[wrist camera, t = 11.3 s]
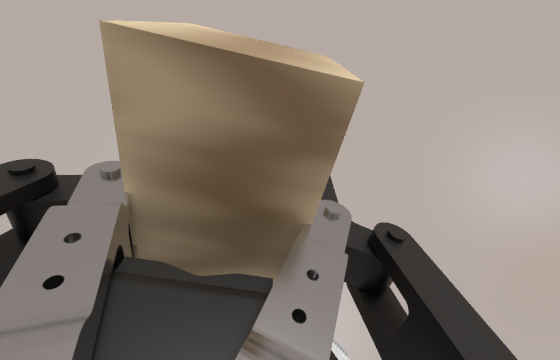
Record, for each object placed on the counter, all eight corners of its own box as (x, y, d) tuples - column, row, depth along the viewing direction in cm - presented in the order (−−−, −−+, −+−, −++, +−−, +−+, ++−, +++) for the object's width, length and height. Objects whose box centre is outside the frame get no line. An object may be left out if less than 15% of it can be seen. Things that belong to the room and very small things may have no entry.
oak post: (148, 356, 11) (99, 20, 4) (186, 265, 15) (190, 23, 9) (258, 368, 12) (364, 82, 5) (265, 277, 16) (327, 56, 9)
